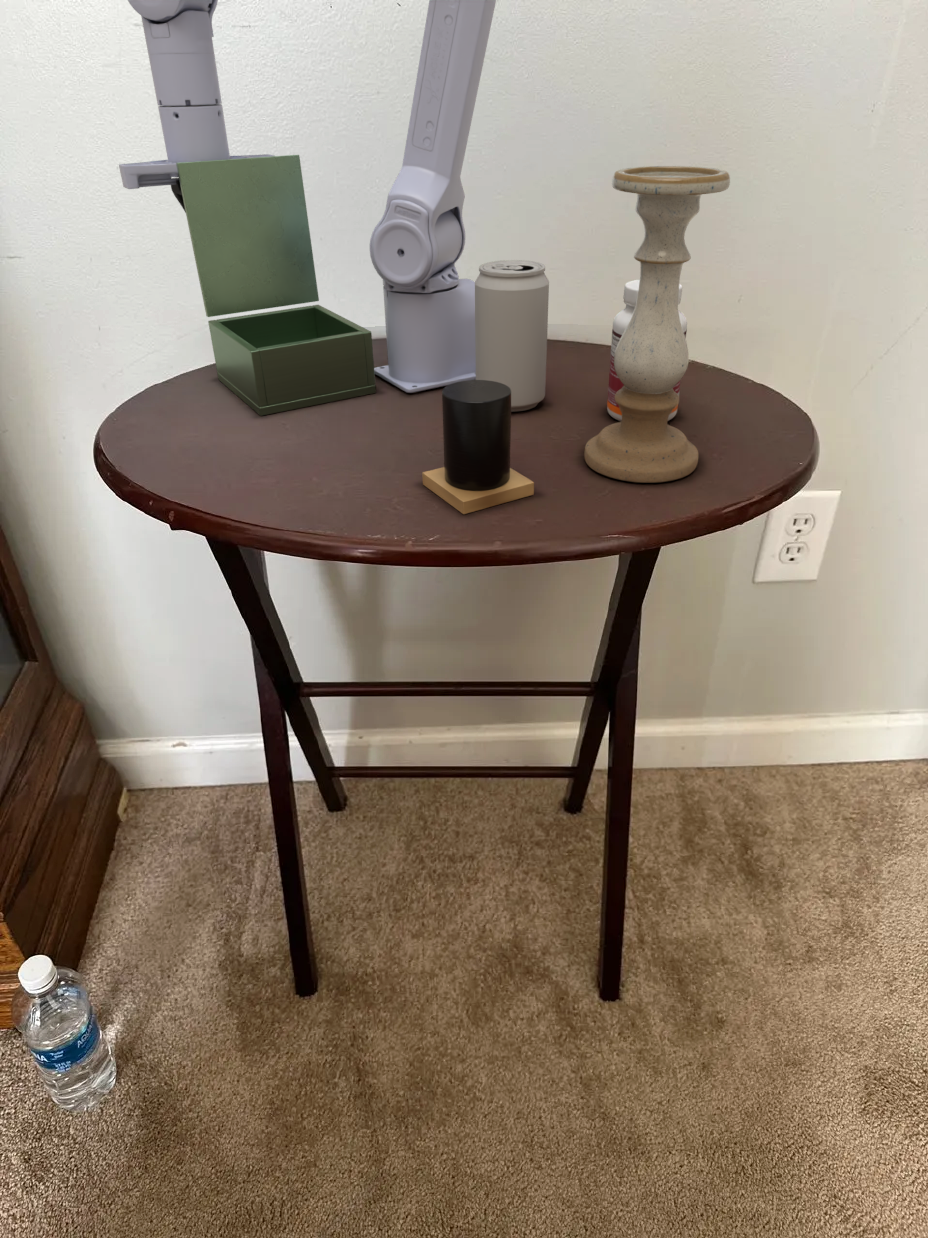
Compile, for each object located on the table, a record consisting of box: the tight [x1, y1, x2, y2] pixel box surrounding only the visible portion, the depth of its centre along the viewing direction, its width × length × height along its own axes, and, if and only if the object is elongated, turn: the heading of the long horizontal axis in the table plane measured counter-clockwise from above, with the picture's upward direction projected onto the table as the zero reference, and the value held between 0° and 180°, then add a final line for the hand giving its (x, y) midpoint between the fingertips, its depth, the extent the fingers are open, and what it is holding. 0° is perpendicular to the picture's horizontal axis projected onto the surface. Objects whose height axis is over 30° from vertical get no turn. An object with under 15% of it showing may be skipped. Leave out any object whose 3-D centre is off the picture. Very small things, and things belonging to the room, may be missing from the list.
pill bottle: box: [606, 279, 688, 422], centre depth 72 cm, size 6×6×11 cm
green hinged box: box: [207, 304, 377, 417], centre depth 82 cm, size 13×12×6 cm
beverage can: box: [474, 259, 550, 413], centre depth 75 cm, size 6×6×12 cm
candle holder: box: [583, 165, 731, 484], centre depth 61 cm, size 9×9×20 cm
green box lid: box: [176, 154, 320, 318], centre depth 81 cm, size 13×12×1 cm
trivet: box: [421, 466, 535, 515], centre depth 62 cm, size 6×6×1 cm
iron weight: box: [441, 380, 512, 491], centre depth 60 cm, size 5×5×6 cm
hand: (216, 262), depth 85 cm, fingers closed
